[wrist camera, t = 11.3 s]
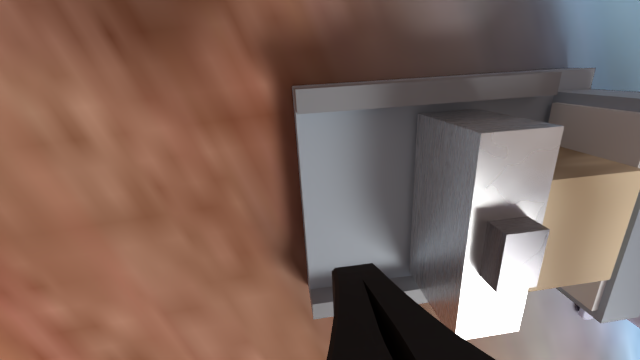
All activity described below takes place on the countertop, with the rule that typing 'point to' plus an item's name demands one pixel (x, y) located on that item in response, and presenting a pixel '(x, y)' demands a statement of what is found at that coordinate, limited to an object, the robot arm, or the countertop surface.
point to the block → (586, 218)
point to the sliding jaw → (480, 215)
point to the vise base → (399, 163)
